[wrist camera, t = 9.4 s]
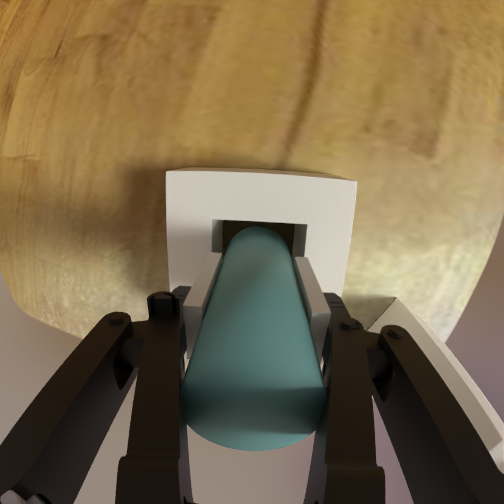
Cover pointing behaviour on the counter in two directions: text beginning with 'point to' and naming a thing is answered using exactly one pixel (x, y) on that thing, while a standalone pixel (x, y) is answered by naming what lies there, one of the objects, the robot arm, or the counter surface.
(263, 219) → the socket
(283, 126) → the counter surface
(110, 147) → the counter surface
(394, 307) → the milk
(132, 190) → the counter surface
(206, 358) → the peg
